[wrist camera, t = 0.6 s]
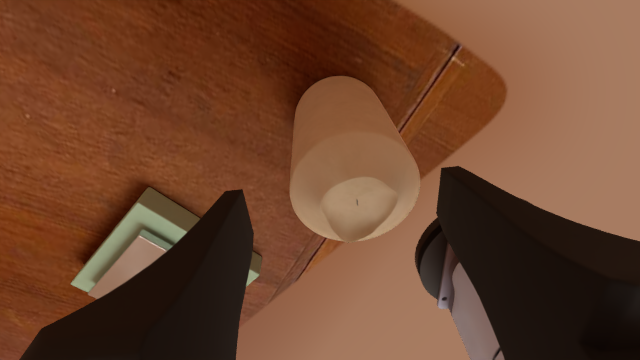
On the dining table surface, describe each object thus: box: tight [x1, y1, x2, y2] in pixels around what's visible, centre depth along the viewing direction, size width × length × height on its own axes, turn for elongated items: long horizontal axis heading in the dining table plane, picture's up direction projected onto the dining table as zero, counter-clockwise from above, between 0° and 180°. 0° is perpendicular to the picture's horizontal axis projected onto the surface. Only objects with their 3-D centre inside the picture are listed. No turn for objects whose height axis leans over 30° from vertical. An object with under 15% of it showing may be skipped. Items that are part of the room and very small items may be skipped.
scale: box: [71, 187, 262, 292], centre depth 26 cm, size 10×10×2 cm
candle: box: [290, 76, 420, 243], centre depth 17 cm, size 6×6×10 cm
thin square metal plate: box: [88, 229, 172, 299], centre depth 25 cm, size 7×7×1 cm
